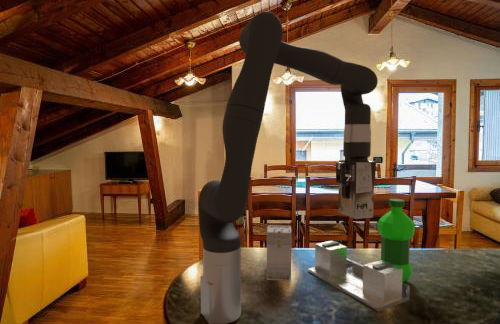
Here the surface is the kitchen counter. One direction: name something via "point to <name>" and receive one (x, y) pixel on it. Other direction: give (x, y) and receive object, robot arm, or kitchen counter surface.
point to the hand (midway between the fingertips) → (355, 197)
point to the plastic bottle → (396, 237)
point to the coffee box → (358, 191)
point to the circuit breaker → (279, 252)
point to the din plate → (360, 277)
